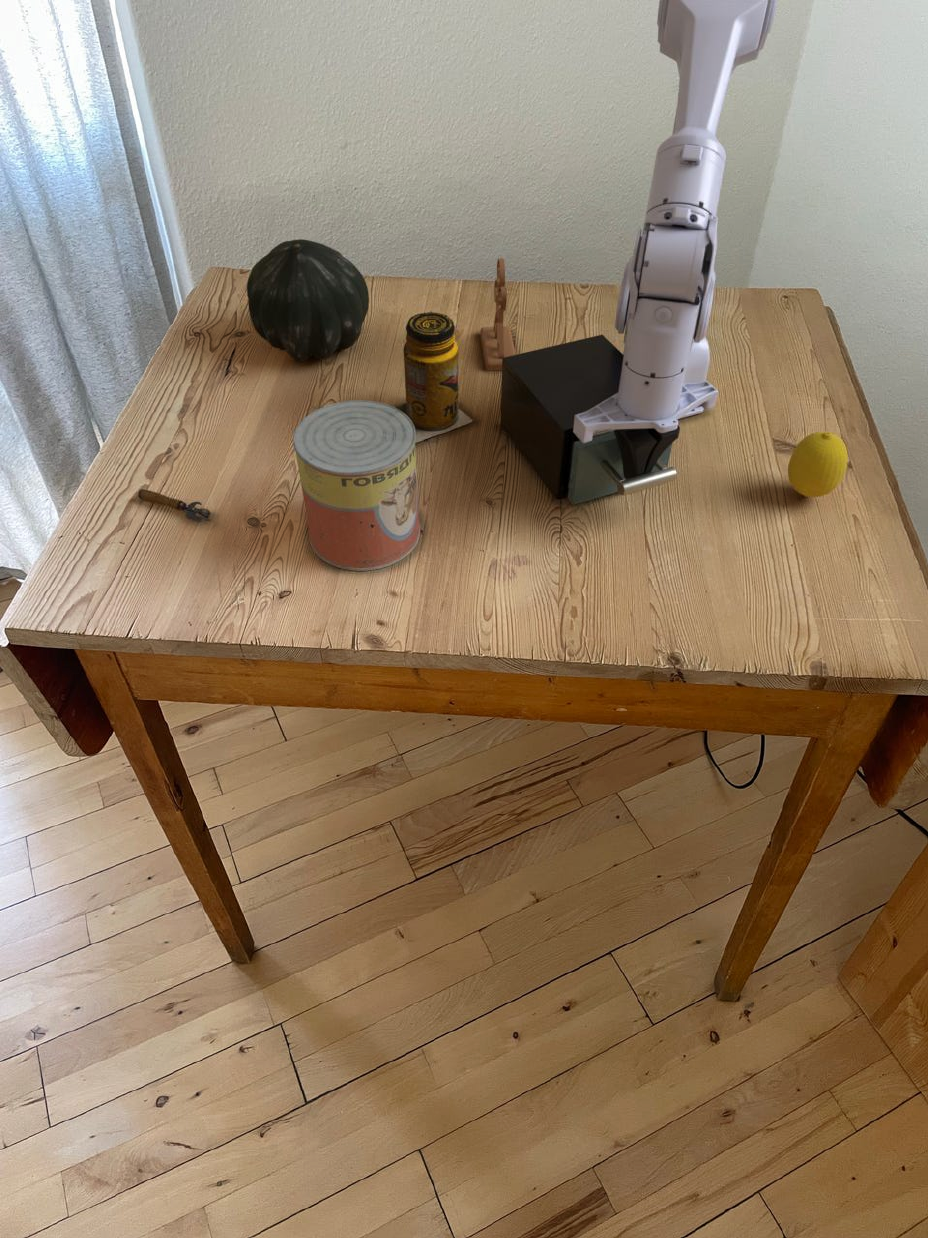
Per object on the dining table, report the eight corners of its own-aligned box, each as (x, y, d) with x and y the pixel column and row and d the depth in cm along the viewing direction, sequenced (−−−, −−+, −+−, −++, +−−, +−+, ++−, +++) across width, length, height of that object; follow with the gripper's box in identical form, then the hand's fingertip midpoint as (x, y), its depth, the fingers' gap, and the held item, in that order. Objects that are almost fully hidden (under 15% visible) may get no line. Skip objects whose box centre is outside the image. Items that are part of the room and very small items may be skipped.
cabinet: (657, 471, 99) (671, 401, 92) (557, 500, 95) (563, 430, 89) (593, 401, 108) (602, 334, 101) (499, 426, 104) (502, 357, 98)
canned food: (377, 586, 87) (367, 488, 78) (286, 544, 91) (267, 446, 82) (441, 520, 93) (439, 423, 84) (353, 483, 97) (342, 387, 88)
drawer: (690, 505, 94) (704, 449, 88) (595, 534, 91) (604, 477, 85) (603, 411, 105) (611, 356, 100) (516, 434, 102) (519, 378, 97)
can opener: (138, 500, 95) (135, 492, 94) (153, 488, 96) (150, 479, 96) (206, 528, 92) (203, 519, 91) (220, 515, 94) (218, 506, 93)
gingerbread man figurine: (480, 333, 118) (481, 243, 109) (509, 332, 119) (513, 242, 110) (486, 370, 112) (488, 278, 103) (517, 369, 113) (522, 277, 104)
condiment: (473, 422, 105) (474, 327, 96) (410, 446, 102) (405, 350, 93) (439, 392, 109) (437, 299, 100) (378, 414, 106) (370, 320, 97)
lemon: (834, 485, 97) (858, 423, 91) (831, 517, 94) (856, 454, 88) (782, 474, 98) (802, 412, 93) (777, 506, 95) (797, 443, 89)
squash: (318, 257, 121) (253, 198, 107) (406, 294, 116) (349, 236, 102) (271, 353, 122) (201, 307, 108) (356, 394, 117) (293, 351, 103)
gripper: (607, 402, 77) (590, 522, 87) (748, 365, 81) (716, 484, 91) (568, 361, 82) (556, 480, 91) (704, 328, 85) (678, 445, 95)
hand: (634, 480), depth 92 cm, fingers closed, pressing on drawer
